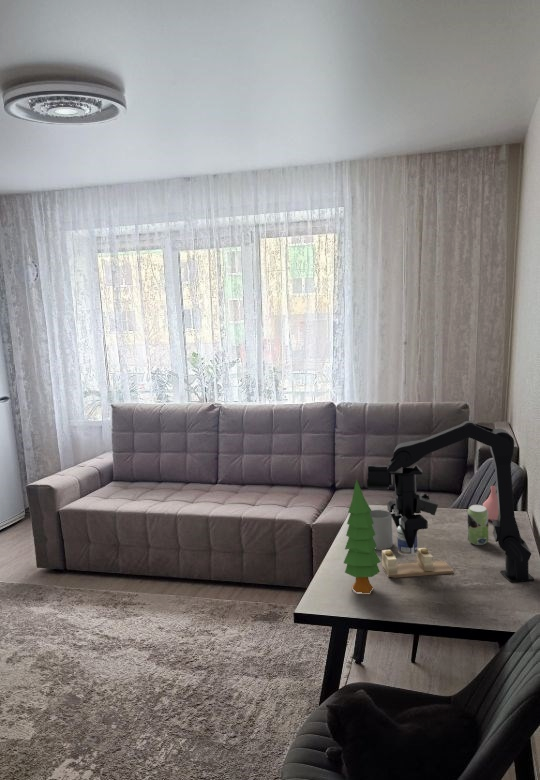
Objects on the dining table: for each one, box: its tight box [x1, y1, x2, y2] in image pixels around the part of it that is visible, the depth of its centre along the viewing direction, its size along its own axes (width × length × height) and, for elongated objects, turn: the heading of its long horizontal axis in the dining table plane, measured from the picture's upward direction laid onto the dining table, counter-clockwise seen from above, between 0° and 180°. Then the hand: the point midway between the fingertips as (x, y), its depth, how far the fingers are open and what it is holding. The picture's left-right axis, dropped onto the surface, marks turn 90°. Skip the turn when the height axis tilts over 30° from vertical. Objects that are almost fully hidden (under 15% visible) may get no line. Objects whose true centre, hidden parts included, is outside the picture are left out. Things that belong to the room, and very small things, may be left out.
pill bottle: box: [396, 518, 419, 557], centre depth 158 cm, size 5×5×10 cm
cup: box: [369, 509, 394, 550], centre depth 180 cm, size 8×8×10 cm
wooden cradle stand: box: [381, 549, 454, 578], centre depth 159 cm, size 7×18×6 cm, turn 93°
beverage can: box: [467, 504, 489, 546], centre depth 176 cm, size 6×7×12 cm
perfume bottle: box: [482, 485, 499, 522], centre depth 197 cm, size 8×8×12 cm
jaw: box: [416, 547, 434, 571], centre depth 159 cm, size 7×2×5 cm, turn 3°
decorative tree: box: [343, 479, 382, 593], centre depth 148 cm, size 10×9×30 cm
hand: (407, 544), depth 159 cm, fingers closed on pill bottle, 5 cm apart
